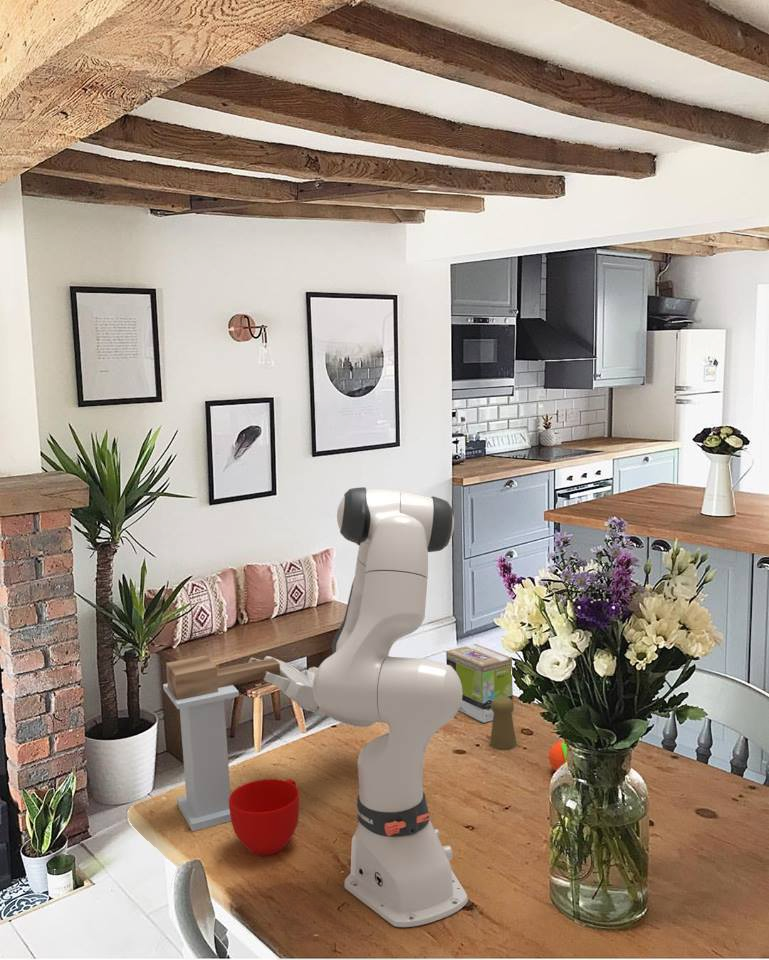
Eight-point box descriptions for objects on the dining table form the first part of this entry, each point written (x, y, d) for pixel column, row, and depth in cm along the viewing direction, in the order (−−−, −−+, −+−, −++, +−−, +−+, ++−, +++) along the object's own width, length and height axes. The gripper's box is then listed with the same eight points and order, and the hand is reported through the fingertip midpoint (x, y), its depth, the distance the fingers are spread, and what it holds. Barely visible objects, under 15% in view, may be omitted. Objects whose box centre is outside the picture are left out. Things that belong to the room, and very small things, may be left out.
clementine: (583, 784, 185) (582, 751, 184) (549, 782, 186) (548, 750, 185) (581, 766, 193) (581, 735, 192) (548, 765, 194) (548, 733, 193)
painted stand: (247, 816, 177) (238, 691, 174) (187, 832, 172) (177, 704, 169) (229, 791, 188) (221, 672, 184) (172, 806, 183) (163, 684, 179)
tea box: (514, 714, 222) (513, 657, 220) (482, 724, 216) (481, 666, 214) (477, 696, 234) (475, 641, 232) (446, 705, 229) (444, 649, 227)
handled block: (283, 678, 180) (282, 654, 179) (177, 700, 171) (175, 675, 170) (270, 666, 187) (269, 643, 186) (167, 687, 178) (165, 662, 177)
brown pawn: (487, 748, 203) (486, 702, 202) (492, 737, 209) (491, 692, 207) (514, 751, 201) (513, 704, 200) (518, 739, 207) (517, 694, 206)
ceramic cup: (324, 824, 173) (322, 776, 172) (278, 871, 158) (275, 818, 157) (267, 812, 179) (264, 765, 177) (217, 857, 163) (214, 805, 162)
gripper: (302, 661, 197) (248, 640, 191) (339, 690, 179) (280, 668, 173) (290, 687, 197) (235, 667, 190) (326, 720, 178) (267, 699, 172)
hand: (257, 668), depth 181 cm, fingers open, 8 cm apart
